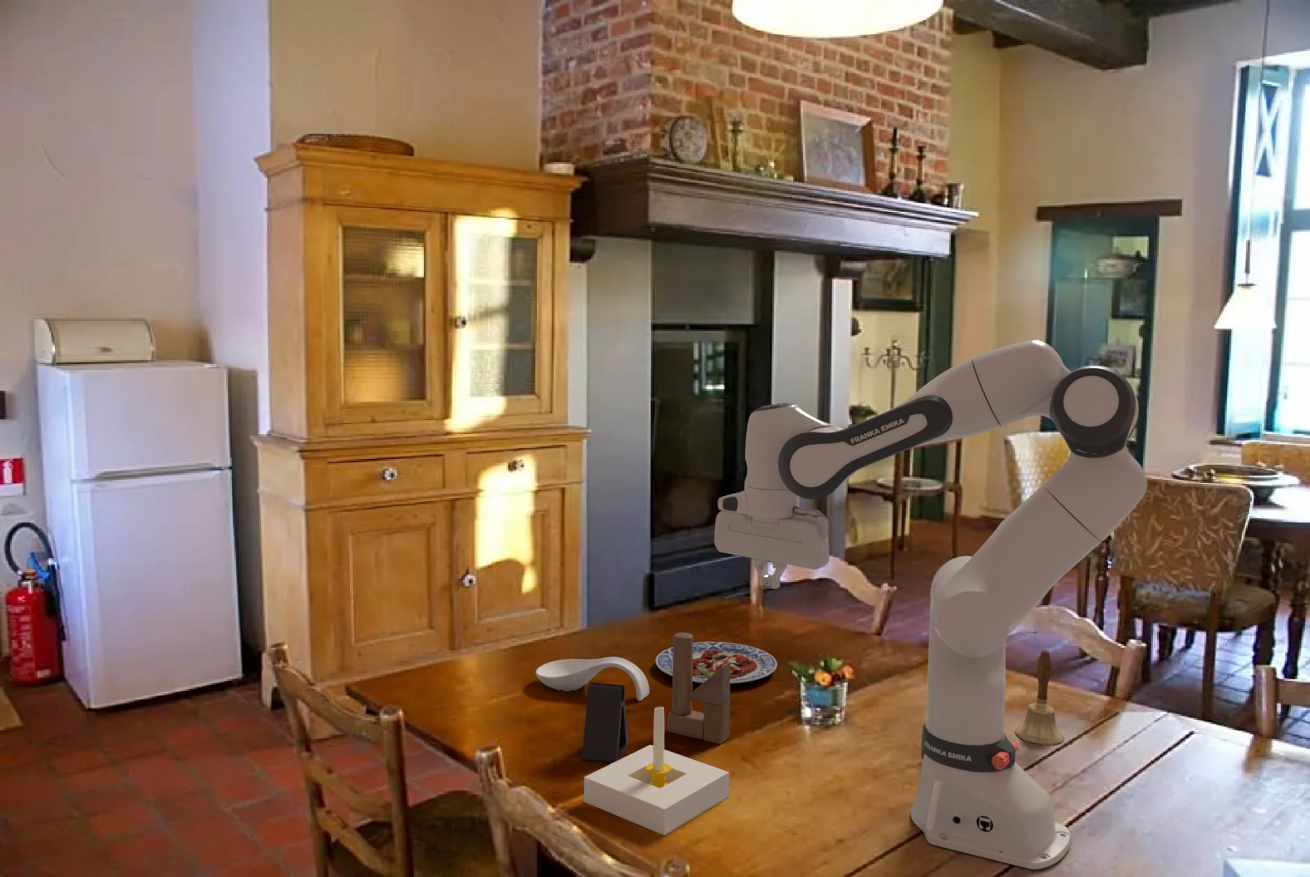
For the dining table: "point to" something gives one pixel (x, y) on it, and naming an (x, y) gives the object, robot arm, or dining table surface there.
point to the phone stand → (605, 723)
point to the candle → (658, 751)
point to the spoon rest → (588, 673)
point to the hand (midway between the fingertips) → (769, 587)
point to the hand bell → (1041, 710)
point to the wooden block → (698, 697)
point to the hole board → (656, 790)
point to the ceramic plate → (723, 661)
